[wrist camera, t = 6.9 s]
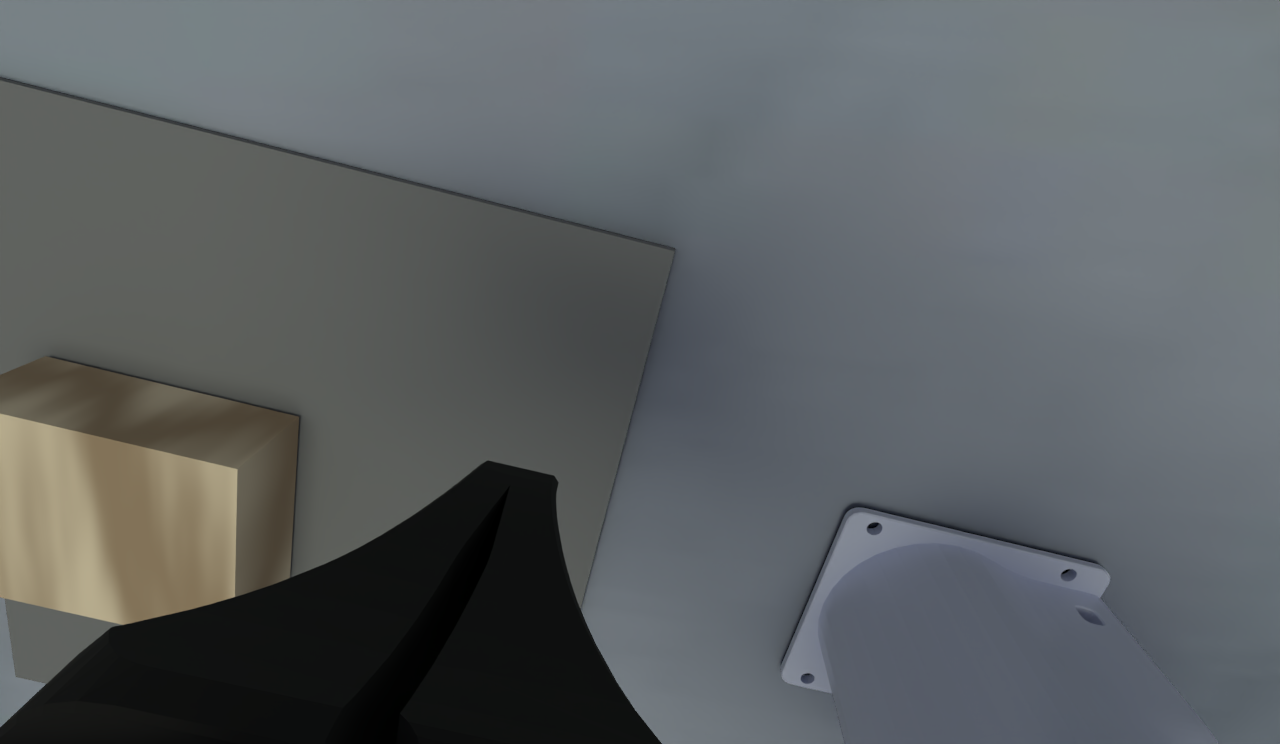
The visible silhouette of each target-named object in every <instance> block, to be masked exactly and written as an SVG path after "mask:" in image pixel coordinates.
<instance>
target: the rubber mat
mask: <svg viewBox="0 0 1280 744" xmlns="http://www.w3.org/2000/svg"><path fill="white" fill-rule="evenodd" d="M674 253H675V248H671V247H667V246H663V245H659V244H655V243H651V242H647V241H644V240H640V239H636V238H632V237H628V236H624V235H620V234H616V233H612V232H608V231H604V230H600V229H596V228H592V227H588V226H584V225H580V224H576V223H573V222H569V221H565V220H561V219H557V218H553V217H549V216H545V215H541V214H537V213H533V212H529V211H525V210H521V209H517V208H513V207H509V206H505V205H501V204H498V203H494V202H490V201H486V200H482V199H478V198H474V197H470V196H466V195H462V194H458V193H454V192H450V191H446V190H442V189H438V188H434V187H430V186H427V185H423V184H419V183H415V182H411V181H407V180H403V179H399V178H395V177H391V176H387V175H383V174H379V173H375V172H371V171H367V170H363V169H359V168H356V167H352V166H348V165H344V164H340V163H336V162H332V161H328V160H324V159H320V158H316V157H312V156H308V155H304V154H300V153H296V152H292V151H288V150H284V149H281V148H277V147H273V146H269V145H265V144H261V143H257V142H253V141H249V140H245V139H241V138H237V137H233V136H229V135H225V134H221V133H217V132H213V131H210V130H206V129H202V128H198V127H194V126H190V125H186V124H182V123H178V122H174V121H170V120H166V119H162V118H158V117H154V116H150V115H146V114H142V113H139V112H135V111H131V110H127V109H123V108H119V107H115V106H111V105H107V104H103V103H99V102H95V101H91V100H87V99H83V98H79V97H75V96H71V95H67V94H64V93H60V92H56V91H52V90H48V89H44V88H40V87H36V86H32V85H28V84H24V83H20V82H16V81H12V80H8V79H4V78H0V375H1V374H3V373H6V372H8V371H11V370H13V369H15V368H18V367H20V366H23V365H25V364H28V363H30V362H32V361H35V360H37V359H40V358H42V357H44V356H47V357H51V358H55V359H59V360H63V361H68V362H72V363H76V364H80V365H84V366H89V367H93V368H97V369H101V370H105V371H110V372H114V373H118V374H122V375H126V376H131V377H135V378H139V379H143V380H147V381H151V382H156V383H160V384H164V385H168V386H172V387H177V388H181V389H185V390H189V391H193V392H198V393H202V394H206V395H210V396H214V397H219V398H223V399H227V400H231V401H235V402H240V403H244V404H248V405H252V406H256V407H261V408H265V409H269V410H273V411H277V412H282V413H286V414H290V415H294V416H298V417H299V430H298V447H297V464H296V481H295V499H294V516H293V533H292V550H291V568H290V578H291V577H293V576H296V575H298V574H301V573H303V572H306V571H308V570H311V569H313V568H316V567H318V566H321V565H323V564H326V563H328V562H330V561H332V560H335V559H337V558H339V557H341V556H343V555H345V554H347V553H349V552H351V551H353V550H355V549H357V548H359V547H361V546H363V545H364V544H366V543H368V542H370V541H372V540H373V539H375V538H377V537H379V536H380V535H382V534H384V533H385V532H387V531H388V530H390V529H392V528H393V527H395V526H396V525H398V524H400V523H401V522H403V521H405V520H406V519H408V518H409V517H411V516H413V515H414V514H416V513H417V512H418V511H420V510H421V509H423V508H424V507H426V506H427V505H428V504H430V503H431V502H433V501H434V500H435V499H437V498H438V497H440V496H441V495H442V494H444V493H445V492H446V491H448V490H449V489H450V488H452V487H453V486H454V485H456V484H457V483H458V482H460V481H461V480H462V479H463V478H465V477H466V476H467V475H468V474H469V473H471V472H472V471H473V470H474V469H476V468H477V467H478V466H479V465H480V464H482V463H484V462H486V461H487V460H489V461H493V462H497V463H502V464H506V465H510V466H515V467H519V468H523V469H528V470H532V471H537V472H541V473H545V474H550V475H554V476H555V478H556V479H557V481H558V482H559V484H558V488H557V493H556V508H557V520H558V528H559V533H560V539H561V544H562V550H563V554H564V558H565V563H566V566H567V570H568V573H569V577H570V581H571V584H572V587H573V590H574V593H575V596H576V599H577V602H578V604H579V607H580V609H581V605H582V601H583V597H584V594H585V590H586V586H587V582H588V578H589V575H590V571H591V567H592V563H593V560H594V556H595V552H596V548H597V544H598V541H599V537H600V533H601V529H602V526H603V522H604V518H605V514H606V510H607V507H608V503H609V499H610V495H611V492H612V488H613V484H614V480H615V476H616V473H617V469H618V465H619V461H620V458H621V454H622V450H623V446H624V442H625V439H626V435H627V431H628V427H629V423H630V420H631V416H632V412H633V408H634V405H635V401H636V397H637V393H638V389H639V386H640V382H641V378H642V374H643V371H644V367H645V363H646V359H647V355H648V352H649V348H650V344H651V340H652V337H653V333H654V329H655V325H656V321H657V318H658V314H659V310H660V306H661V302H662V299H663V295H664V291H665V287H666V284H667V280H668V276H669V272H670V268H671V265H672V261H673V257H674ZM5 604H6V611H7V618H8V625H9V632H10V639H11V646H12V653H13V660H14V668H15V675H16V677H19V678H24V679H28V680H33V681H37V682H42V683H46V684H47V683H48V682H49V681H50V680H51V679H52V678H53V677H54V676H55V675H57V674H58V673H59V672H60V671H61V670H62V669H63V668H64V667H65V666H66V665H67V664H68V663H69V662H70V661H72V660H73V659H74V658H75V657H76V656H77V655H78V654H79V653H80V652H82V651H83V650H84V649H85V648H87V647H88V646H89V645H90V644H92V643H93V642H94V641H95V640H96V639H98V638H99V637H100V636H101V635H103V634H104V633H105V632H106V631H107V630H109V629H110V628H111V627H114V626H120V625H121V624H117V623H112V622H108V621H103V620H99V619H95V618H90V617H86V616H81V615H77V614H72V613H68V612H63V611H59V610H54V609H50V608H46V607H41V606H37V605H32V604H28V603H23V602H19V601H14V600H10V599H5Z"/></svg>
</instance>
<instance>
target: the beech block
mask: <svg viewBox="0 0 1280 744" xmlns="http://www.w3.org/2000/svg"><path fill="white" fill-rule="evenodd" d="M298 430H299V417H298V416H294V415H290V414H286V413H282V412H277V411H273V410H269V409H265V408H261V407H256V406H252V405H248V404H244V403H240V402H235V401H231V400H227V399H223V398H219V397H214V396H210V395H206V394H202V393H198V392H193V391H189V390H185V389H181V388H177V387H172V386H168V385H164V384H160V383H156V382H151V381H147V380H143V379H139V378H135V377H131V376H126V375H122V374H118V373H114V372H110V371H105V370H101V369H97V368H93V367H89V366H84V365H80V364H76V363H72V362H68V361H63V360H59V359H55V358H51V357H47V356H44V357H42V358H40V359H37V360H35V361H32V362H30V363H28V364H25V365H23V366H20V367H18V368H15V369H13V370H11V371H8V372H6V373H3V374H1V375H0V597H1V598H5V599H10V600H14V601H19V602H23V603H28V604H32V605H37V606H41V607H46V608H50V609H54V610H59V611H63V612H68V613H72V614H77V615H81V616H86V617H90V618H95V619H99V620H103V621H108V622H112V623H117V624H121V625H125V624H130V623H134V622H138V621H143V620H147V619H151V618H156V617H160V616H164V615H169V614H173V613H178V612H182V611H186V610H191V609H194V608H198V607H202V606H205V605H209V604H213V603H216V602H219V601H223V600H226V599H230V598H233V597H236V596H240V595H243V594H246V593H249V592H252V591H255V590H258V589H261V588H264V587H267V586H270V585H273V584H276V583H278V582H281V581H283V580H286V579H288V578H290V568H291V550H292V533H293V516H294V499H295V481H296V464H297V447H298Z"/></svg>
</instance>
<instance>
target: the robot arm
mask: <svg viewBox="0 0 1280 744" xmlns="http://www.w3.org/2000/svg"><path fill="white" fill-rule="evenodd" d="M558 484H559V482H558V481H557V479H556V478H555V476H554V475H550V474H545V473H541V472H537V471H532V470H528V469H523V468H519V467H515V466H510V465H506V464H502V463H497V462H493V461H489V460H487V461H486V462H484V463H482V464H480V465H479V466H478V467H477V468H476V469H474V470H473V471H472V472H471V473H469V474H468V475H467V476H466V477H465V478H463V479H462V480H461V481H460V482H458V483H457V484H456V485H454V486H453V487H452V488H450V489H449V490H448V491H446V492H445V493H444V494H442V495H441V496H440V497H438V498H437V499H435V500H434V501H433V502H431V503H430V504H428V505H427V506H426V507H424V508H423V509H421V510H420V511H418V512H417V513H416V514H414V515H413V516H411V517H409V518H408V519H406V520H405V521H403V522H401V523H400V524H398V525H396V526H395V527H393V528H392V529H390V530H388V531H387V532H385V533H384V534H382V535H380V536H379V537H377V538H375V539H373V540H372V541H370V542H368V543H366V544H364V545H363V546H361V547H359V548H357V549H355V550H353V551H351V552H349V553H347V554H345V555H343V556H341V557H339V558H337V559H335V560H332V561H330V562H328V563H326V564H323V565H321V566H318V567H316V568H313V569H311V570H308V571H306V572H303V573H301V574H298V575H296V576H293V577H291V578H288V579H286V580H283V581H281V582H278V583H276V584H273V585H270V586H267V587H264V588H261V589H258V590H255V591H252V592H249V593H246V594H243V595H240V596H236V597H233V598H230V599H226V600H223V601H219V602H216V603H213V604H209V605H205V606H202V607H198V608H194V609H191V610H186V611H182V612H178V613H173V614H169V615H164V616H160V617H156V618H151V619H147V620H143V621H138V622H134V623H130V624H125V625H120V626H114V627H111V628H110V629H109V630H107V631H106V632H105V633H104V634H103V635H101V636H100V637H99V638H98V639H96V640H95V641H94V642H93V643H92V644H90V645H89V646H88V647H87V648H85V649H84V650H83V651H82V652H80V653H79V654H78V655H77V656H76V657H75V658H74V659H73V660H72V661H70V662H69V663H68V664H67V665H66V666H65V667H64V668H63V669H62V670H61V671H60V672H59V673H58V674H57V675H55V676H54V677H53V678H52V679H51V680H50V681H49V682H48V683H47V684H46V685H45V686H44V687H43V688H42V689H41V690H40V691H39V692H37V693H36V694H35V695H34V696H33V697H32V698H31V699H30V700H29V701H28V702H27V703H26V704H25V705H24V706H23V707H22V708H20V709H19V710H18V711H17V712H16V713H15V714H14V715H13V716H12V717H11V718H10V719H9V720H8V721H7V722H6V723H5V724H4V725H2V726H1V727H0V744H662V743H661V742H660V741H659V740H658V738H657V737H656V736H655V735H654V733H653V732H652V731H651V730H650V728H649V727H648V726H647V725H646V723H645V722H644V721H643V720H642V718H641V717H640V716H639V715H638V713H637V712H636V711H635V709H634V708H633V706H632V705H631V703H630V702H629V700H628V699H627V697H626V696H625V694H624V693H623V691H622V690H621V688H620V687H619V685H618V683H617V682H616V680H615V678H614V676H613V675H612V673H611V671H610V669H609V667H608V665H607V664H606V662H605V660H604V658H603V656H602V655H601V653H600V651H599V649H598V647H597V646H596V644H595V642H594V639H593V637H592V635H591V633H590V631H589V628H588V626H587V624H586V622H585V619H584V617H583V614H582V612H581V609H580V607H579V604H578V602H577V599H576V596H575V593H574V590H573V587H572V584H571V581H570V577H569V573H568V570H567V566H566V563H565V558H564V554H563V550H562V544H561V539H560V533H559V528H558V520H557V508H556V493H557V488H558ZM873 522H878V523H879V524H878V526H877V527H875V528H867V526H868V525H869V524H870V523H873ZM1067 569H1070V570H1069V571H1068V572H1067V573H1065V574H1061V573H1062V572H1063V571H1065V570H1067ZM1110 580H1111V579H1110V575H1109V574H1108V572H1107V571H1106V570H1105V569H1104V568H1103V567H1102V566H1101V565H1098V564H1095V563H1091V562H1087V561H1083V560H1079V559H1074V558H1070V557H1066V556H1062V555H1058V554H1054V553H1049V552H1045V551H1041V550H1037V549H1033V548H1029V547H1025V546H1020V545H1016V544H1012V543H1008V542H1004V541H1000V540H996V539H991V538H987V537H983V536H979V535H975V534H971V533H966V532H962V531H958V530H954V529H950V528H946V527H942V526H937V525H933V524H929V523H925V522H921V521H917V520H913V519H908V518H904V517H900V516H896V515H892V514H888V513H883V512H879V511H875V510H871V509H867V508H861V507H857V508H853V509H851V510H849V511H848V512H847V513H846V514H845V516H844V518H843V520H842V523H841V525H840V527H839V530H838V532H837V534H836V537H835V539H834V541H833V544H832V546H831V549H830V551H829V553H828V556H827V558H826V560H825V563H824V565H823V567H822V570H821V572H820V575H819V577H818V579H817V582H816V584H815V586H814V589H813V591H812V593H811V596H810V598H809V601H808V603H807V605H806V608H805V610H804V612H803V615H802V617H801V619H800V622H799V624H798V627H797V629H796V631H795V634H794V636H793V638H792V641H791V643H790V645H789V648H788V650H787V653H786V655H785V657H784V660H783V662H782V664H781V669H780V670H781V676H782V679H783V680H784V681H785V682H786V683H789V684H792V685H796V686H800V687H805V688H809V689H814V690H818V691H822V692H827V693H831V694H832V695H833V699H834V703H835V707H836V711H837V715H838V719H839V723H840V727H841V731H842V735H843V739H844V743H845V744H1219V743H1218V741H1217V740H1216V738H1215V737H1214V735H1213V734H1212V733H1211V731H1210V730H1209V728H1208V727H1207V726H1206V724H1205V723H1204V722H1203V721H1202V720H1201V718H1200V717H1199V716H1198V715H1197V714H1196V712H1195V711H1194V710H1193V709H1192V708H1191V706H1190V705H1189V704H1188V703H1187V702H1186V700H1185V699H1184V698H1183V697H1182V696H1181V694H1180V693H1179V692H1178V691H1177V690H1176V688H1175V687H1174V686H1173V685H1172V684H1171V682H1170V681H1169V680H1168V679H1167V678H1166V676H1165V675H1164V674H1163V673H1162V672H1161V670H1160V669H1159V668H1158V667H1157V666H1156V664H1155V663H1154V662H1153V661H1152V659H1151V658H1150V657H1149V656H1148V655H1147V653H1146V652H1145V651H1144V650H1143V649H1142V647H1141V646H1140V645H1139V644H1138V643H1137V641H1136V640H1135V639H1134V638H1133V637H1132V635H1131V634H1130V633H1129V632H1128V631H1127V629H1126V628H1125V627H1124V626H1123V625H1122V623H1121V622H1120V621H1119V620H1118V619H1117V617H1116V616H1115V615H1114V614H1113V613H1112V611H1111V610H1110V609H1109V608H1108V607H1107V605H1106V604H1105V603H1104V602H1103V601H1102V599H1101V596H1102V594H1103V593H1104V591H1105V590H1106V588H1107V586H1108V585H1109V583H1110ZM806 673H810V675H808V676H803V674H806Z"/></svg>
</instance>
